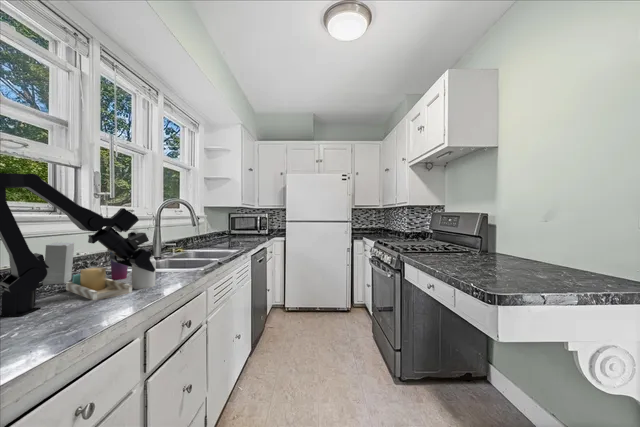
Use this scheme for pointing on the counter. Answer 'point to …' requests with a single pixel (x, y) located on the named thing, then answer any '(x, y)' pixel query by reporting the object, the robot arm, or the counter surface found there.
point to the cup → (118, 270)
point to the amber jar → (93, 278)
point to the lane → (110, 290)
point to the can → (143, 276)
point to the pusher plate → (76, 279)
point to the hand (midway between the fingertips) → (147, 269)
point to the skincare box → (58, 263)
